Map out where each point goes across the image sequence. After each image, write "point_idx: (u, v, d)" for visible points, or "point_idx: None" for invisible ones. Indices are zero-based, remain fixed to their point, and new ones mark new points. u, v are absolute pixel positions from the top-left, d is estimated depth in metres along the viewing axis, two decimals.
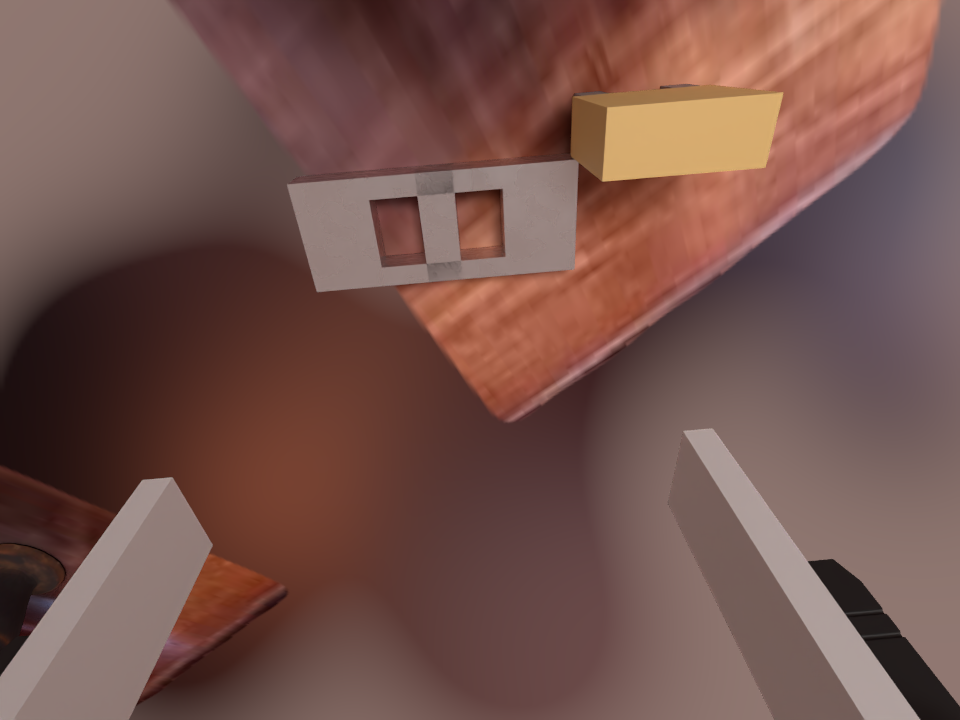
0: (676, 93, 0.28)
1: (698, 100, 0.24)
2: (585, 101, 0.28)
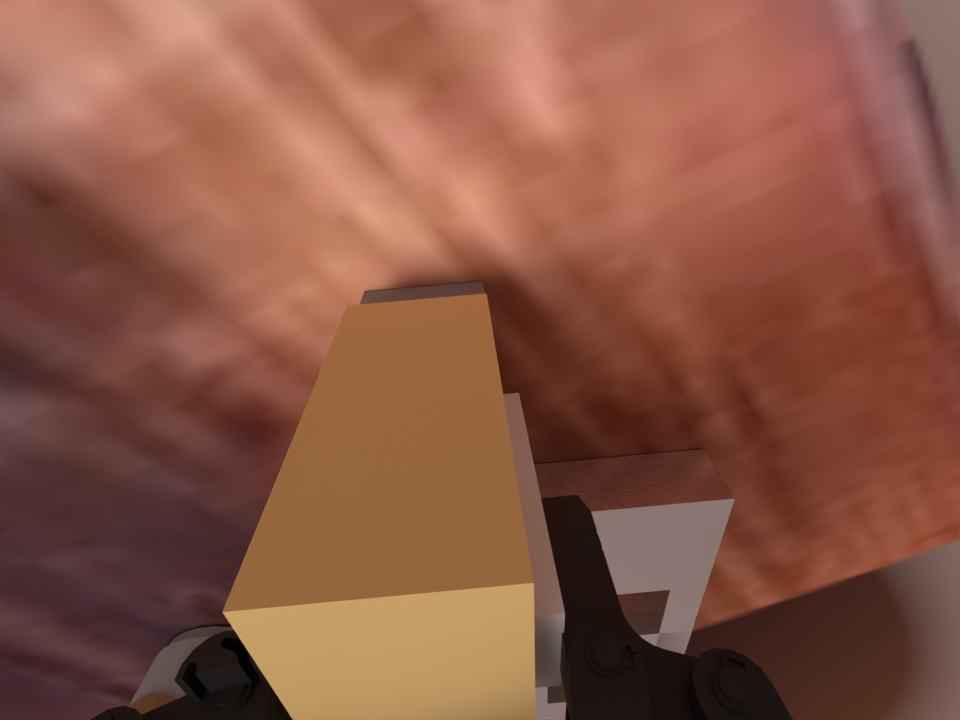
0: None
1: None
2: None
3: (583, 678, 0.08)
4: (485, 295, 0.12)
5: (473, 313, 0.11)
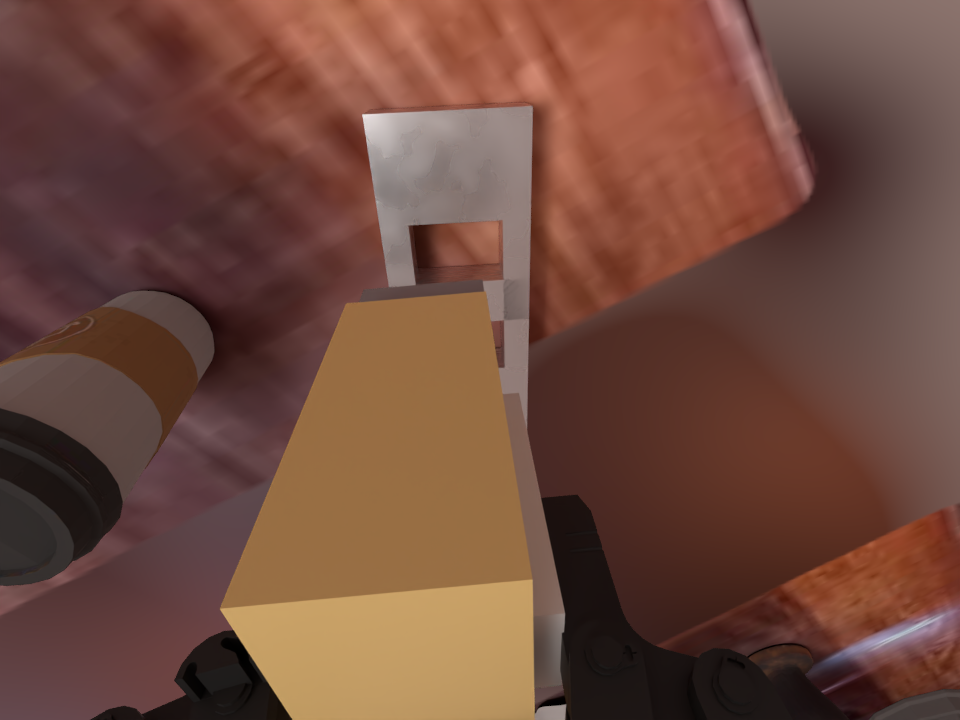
0: None
1: None
2: None
3: (583, 678, 0.08)
4: (484, 293, 0.12)
5: (472, 311, 0.11)
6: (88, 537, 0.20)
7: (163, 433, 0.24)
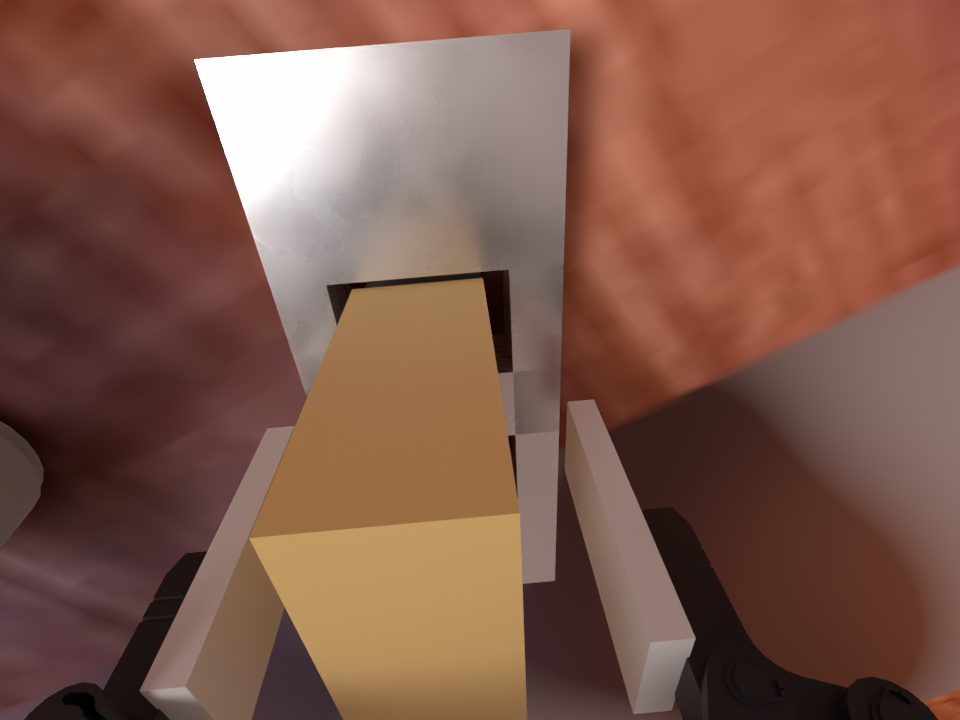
0: None
1: (330, 686, 0.09)
2: None
3: (721, 702, 0.07)
4: (481, 279, 0.13)
5: (470, 295, 0.12)
6: None
7: None
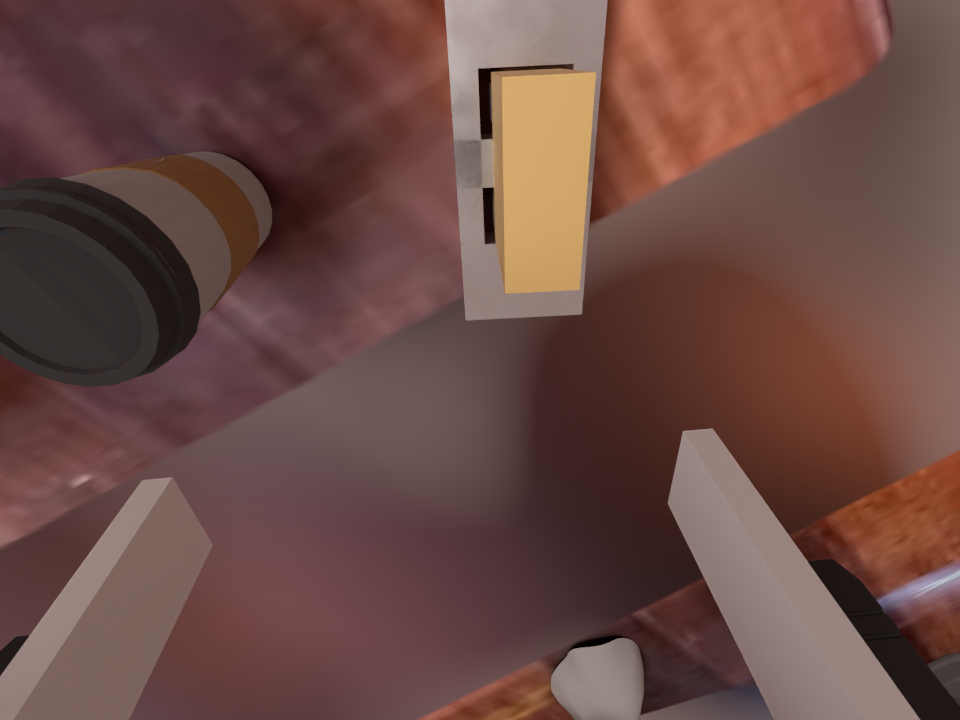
0: (497, 162, 0.24)
1: (504, 193, 0.20)
2: None
3: None
4: (559, 68, 0.25)
5: (555, 69, 0.24)
6: (169, 337, 0.19)
7: (231, 272, 0.24)
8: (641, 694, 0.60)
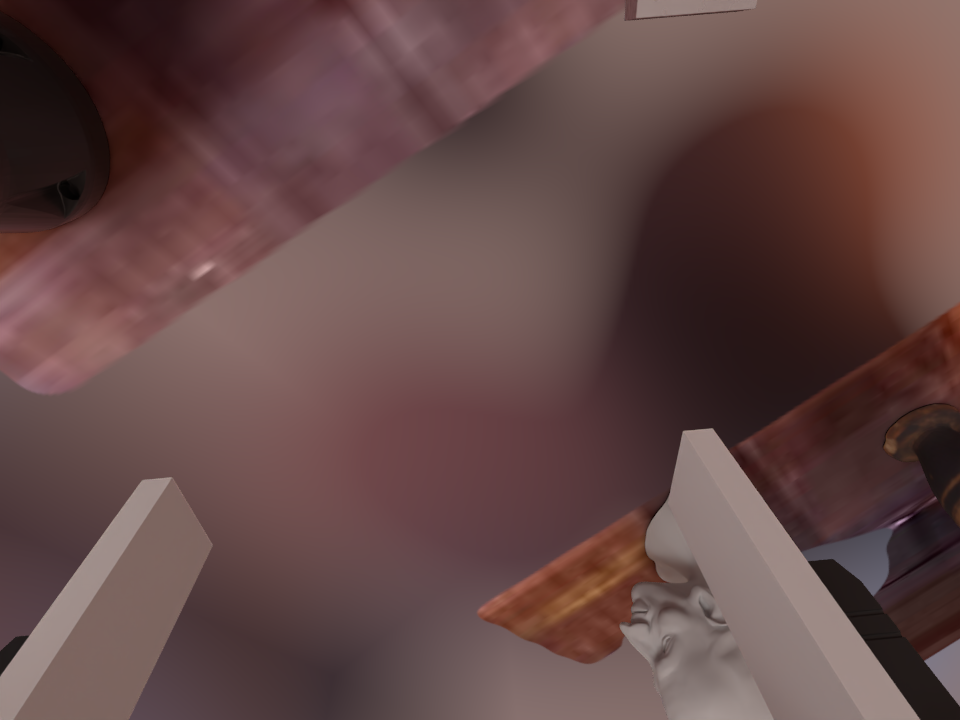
0: None
1: None
2: None
3: None
4: None
5: None
6: None
7: None
8: None
